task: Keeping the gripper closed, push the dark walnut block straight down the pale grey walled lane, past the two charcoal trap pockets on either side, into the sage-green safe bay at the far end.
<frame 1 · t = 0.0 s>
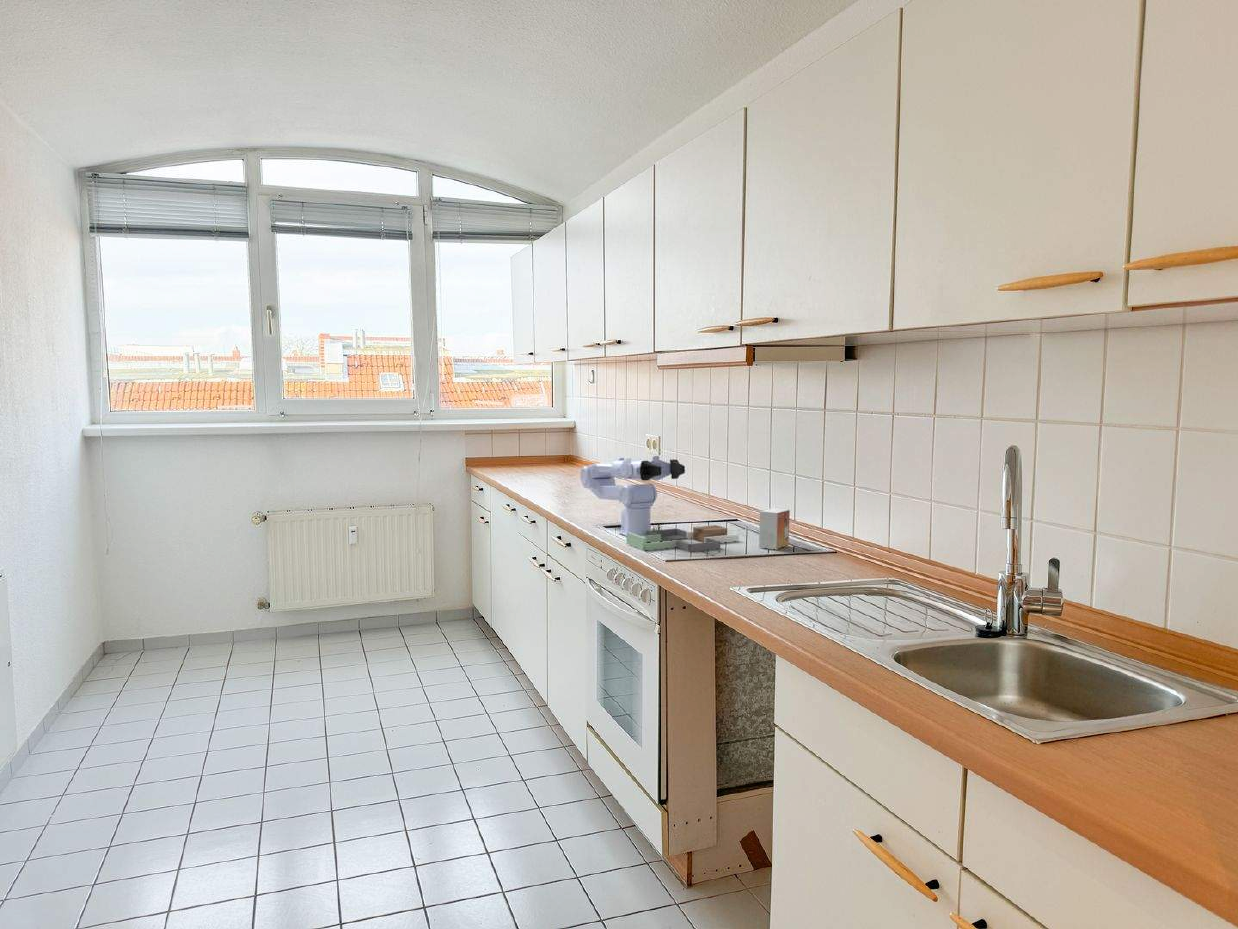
hand: (672, 470, 235), 22 cm above the counter, tool horizontal, fingers open, 7 cm apart
small box: (773, 547, 237), on the counter
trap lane: (682, 542, 243), on the counter
walnut block: (710, 541, 247), resting in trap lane
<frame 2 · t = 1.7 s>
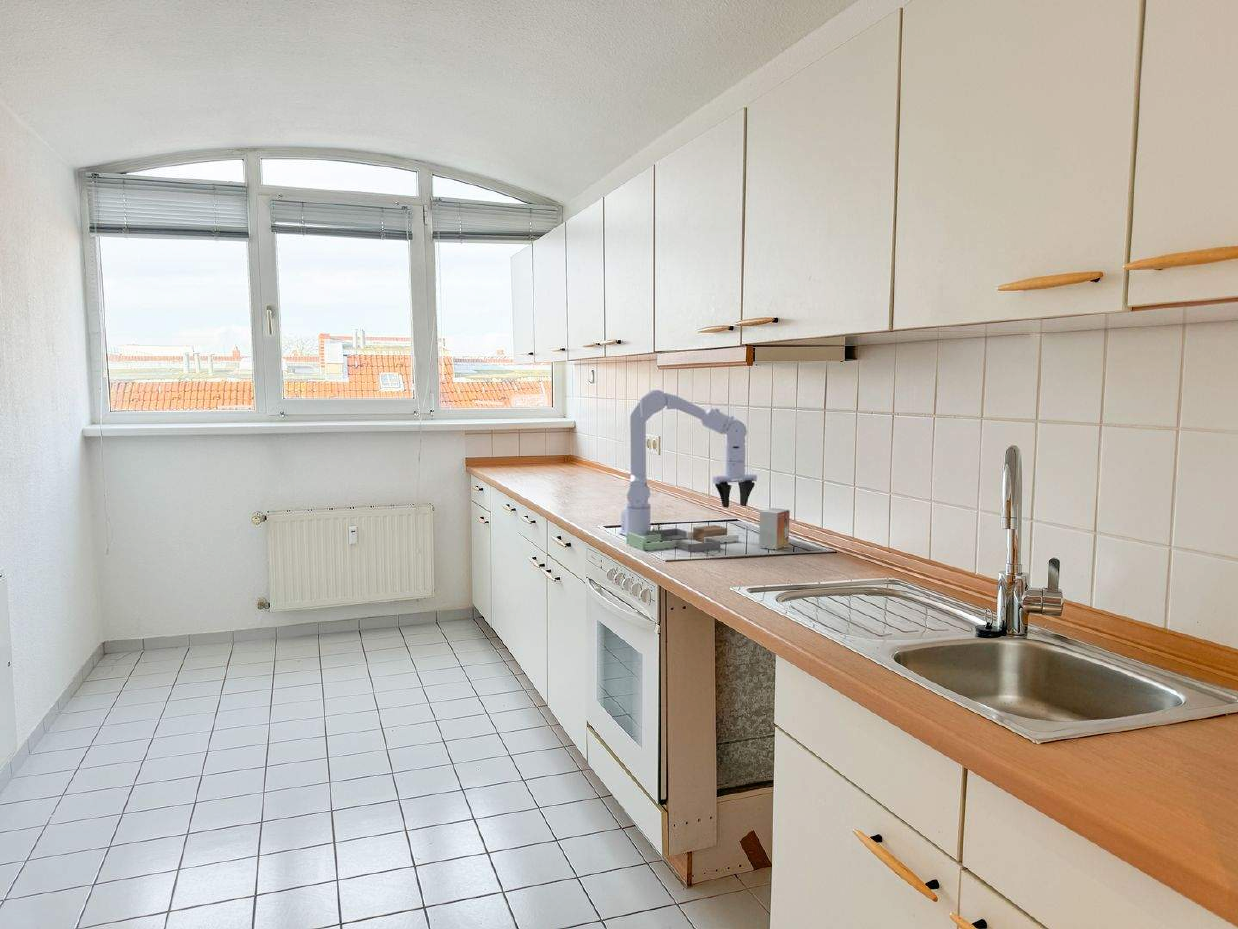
hand: (734, 506, 250), 9 cm above the counter, tool pointing down, fingers open, 6 cm apart
nothing on the counter moved.
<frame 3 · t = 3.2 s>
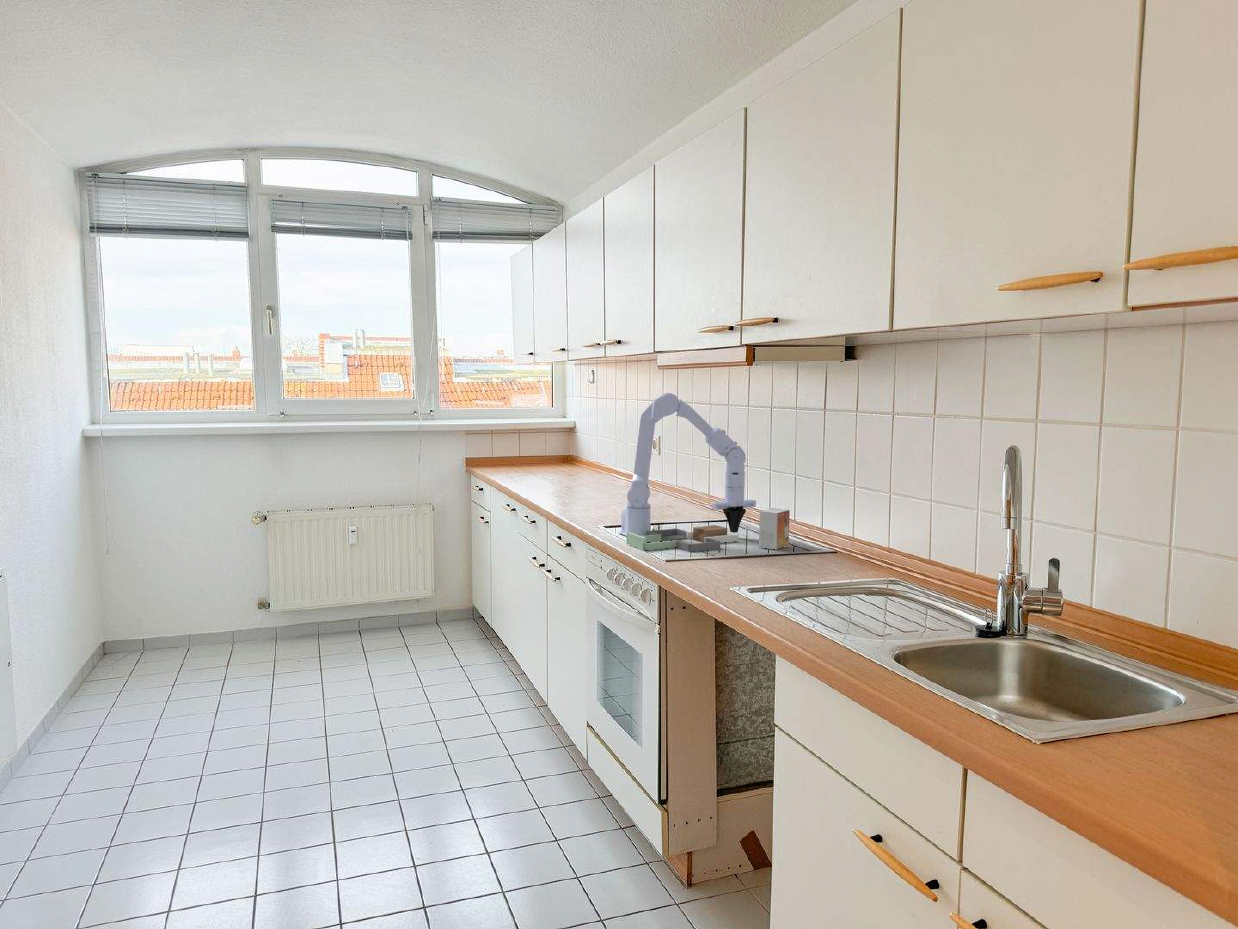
hand: (733, 532, 251), 2 cm above the counter, tool pointing down, fingers closed
nothing on the counter moved.
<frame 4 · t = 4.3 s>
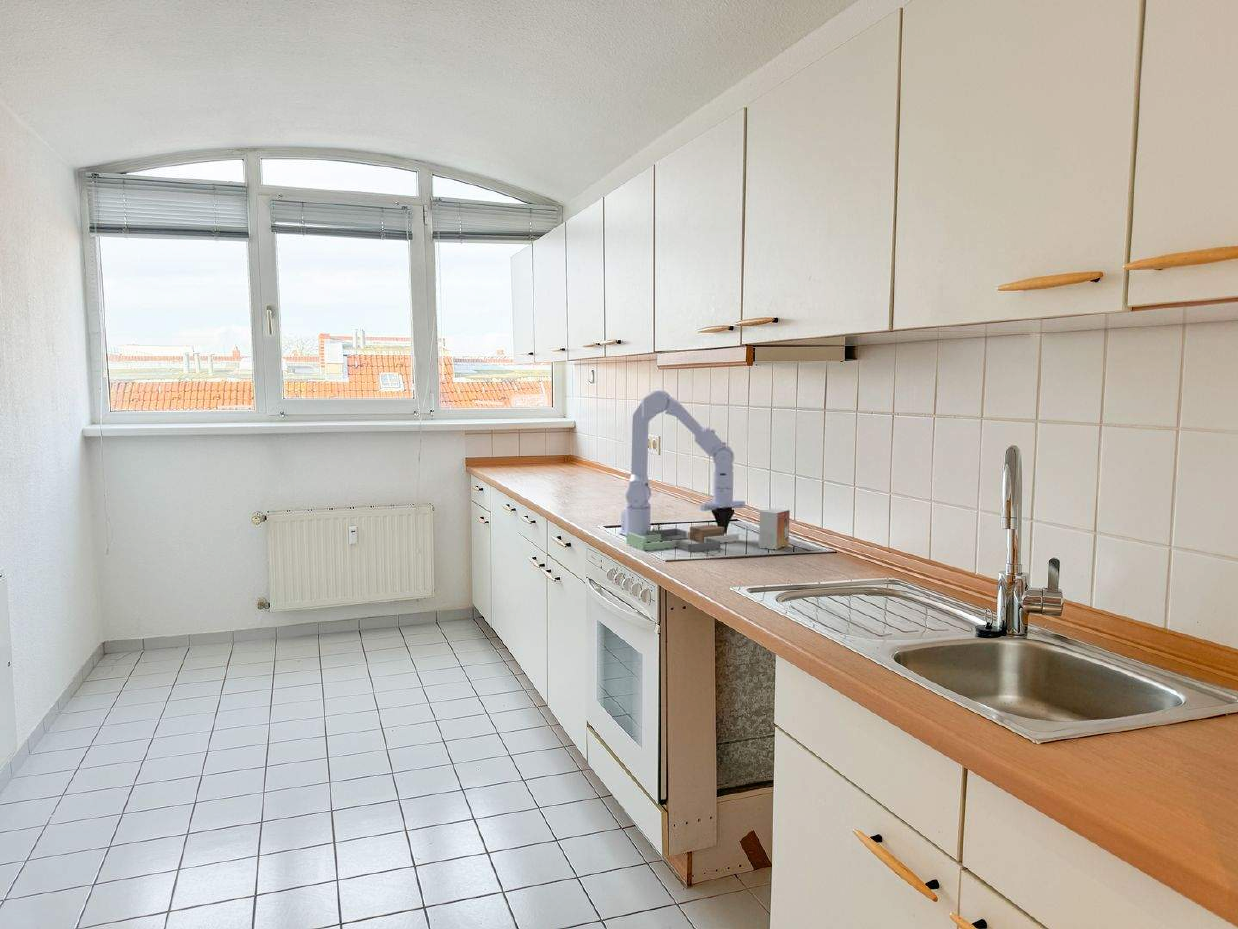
hand: (722, 533, 249), 2 cm above the counter, tool pointing down, fingers closed
walnut block: (706, 540, 247), resting in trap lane, touching gripper
everything else where it was.
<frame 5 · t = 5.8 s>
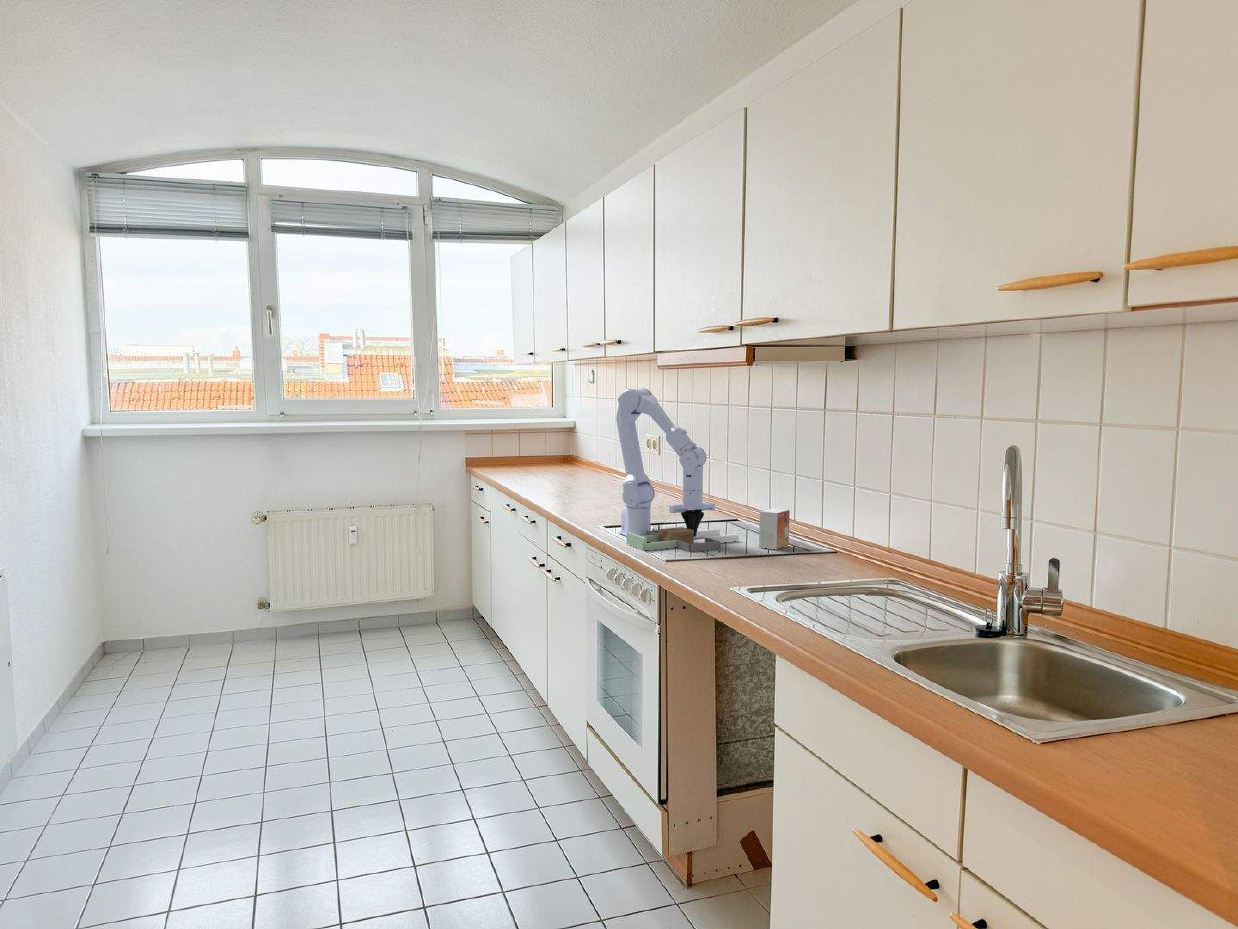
hand: (692, 536, 244), 2 cm above the counter, tool pointing down, fingers closed
walnut block: (676, 543, 242), resting in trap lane, touching gripper
everything else where it was.
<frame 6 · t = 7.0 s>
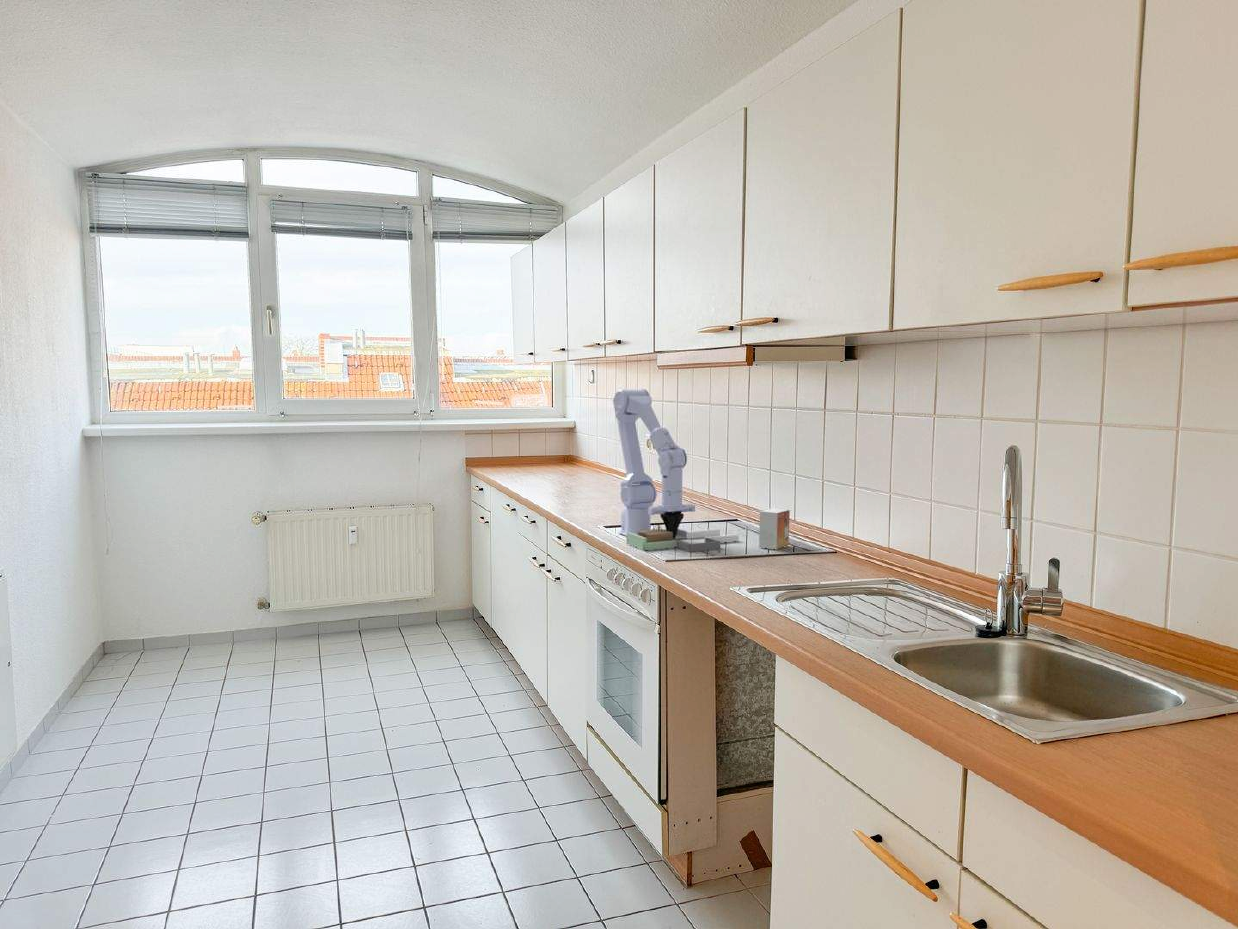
hand: (671, 538, 241), 2 cm above the counter, tool pointing down, fingers closed
walnut block: (655, 545, 239), resting in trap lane, touching gripper
everything else where it was.
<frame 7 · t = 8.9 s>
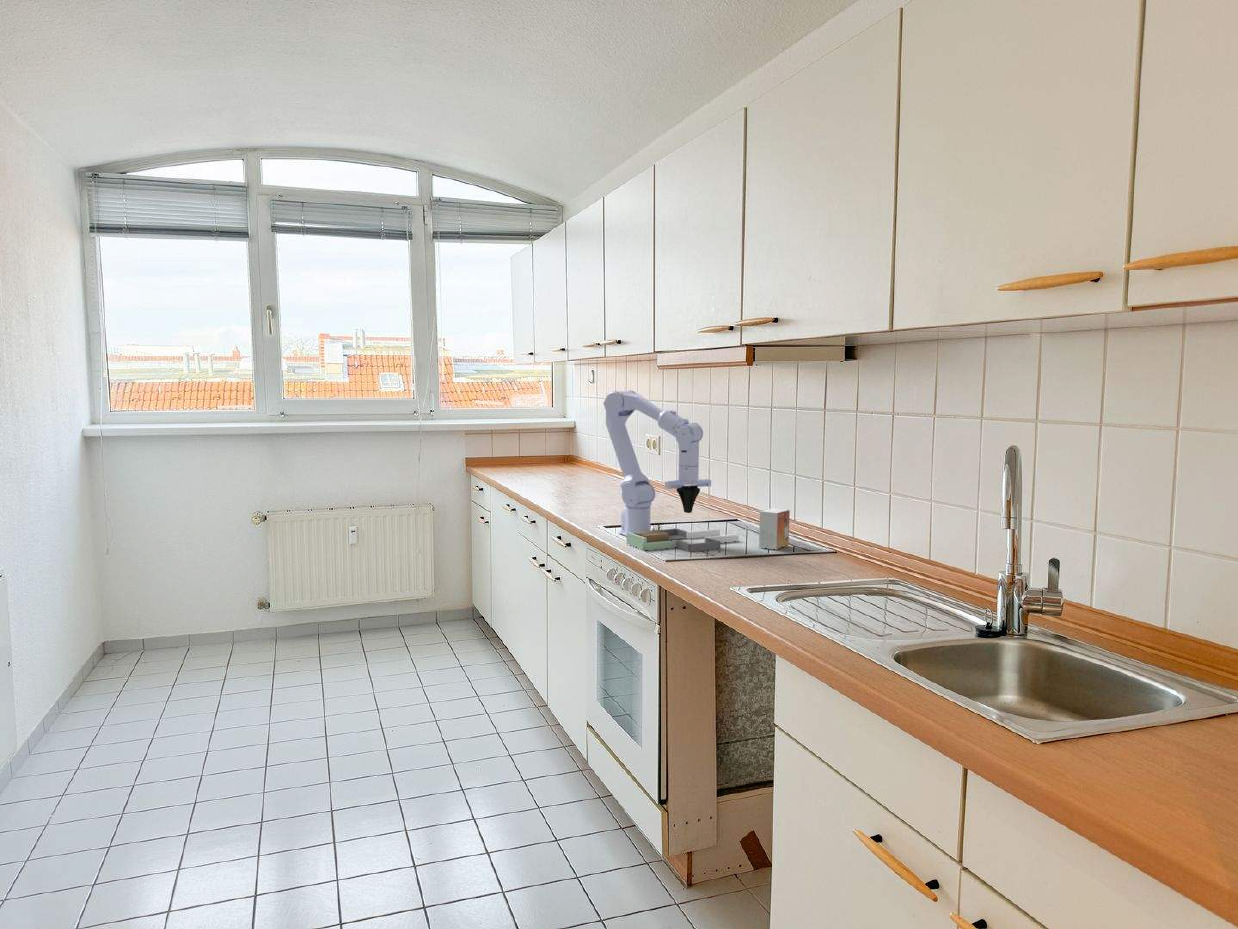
hand: (687, 512, 243), 9 cm above the counter, tool pointing down, fingers closed
walnut block: (651, 546, 238), resting in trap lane
everything else where it was.
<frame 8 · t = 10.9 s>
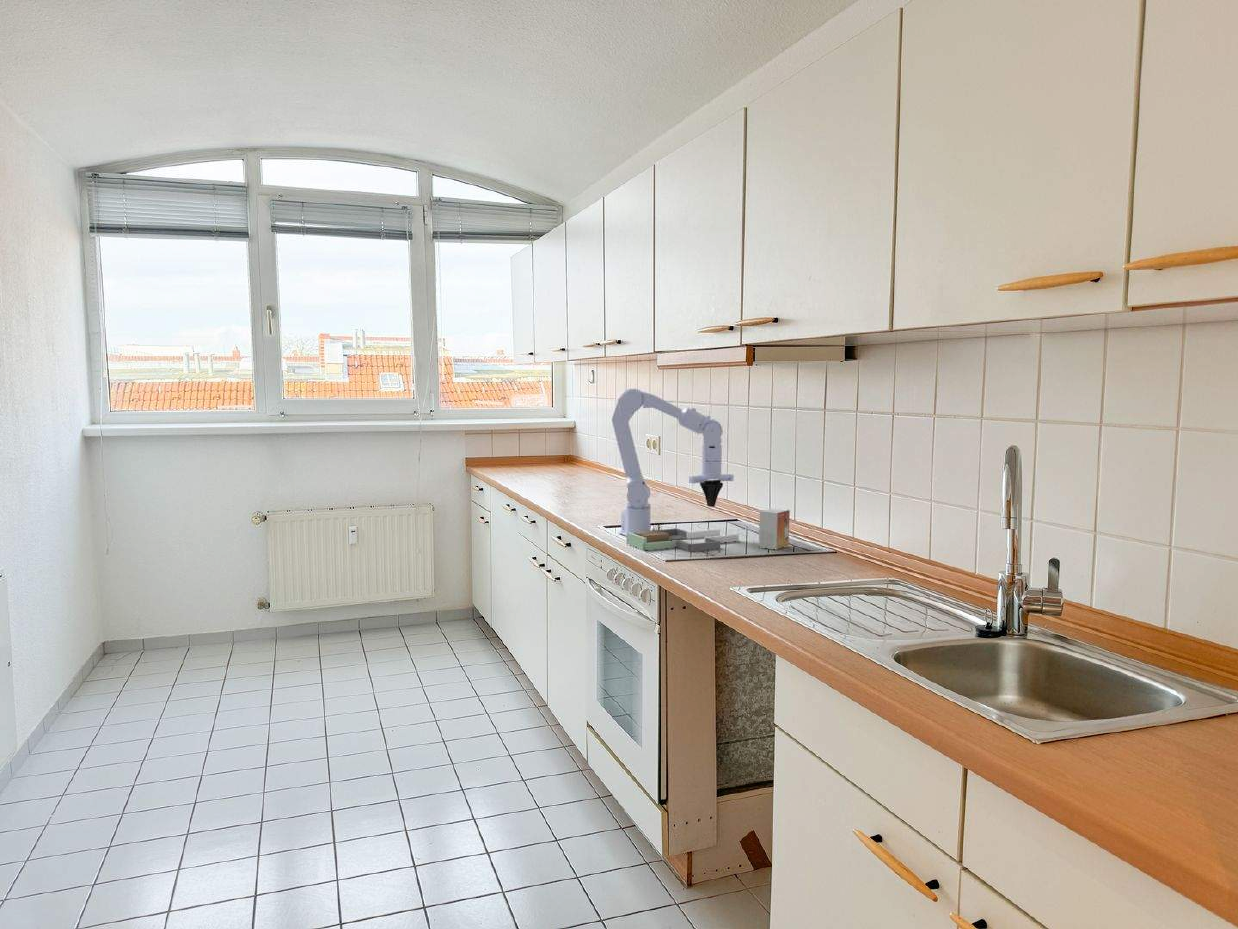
hand: (711, 506, 250), 9 cm above the counter, tool pointing down, fingers closed
nothing on the counter moved.
at the end: walnut block inside the target area (0.4 cm from its centre), resting in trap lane; walnut block tilted 0°; walnut block moved 19.8 cm from its start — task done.
